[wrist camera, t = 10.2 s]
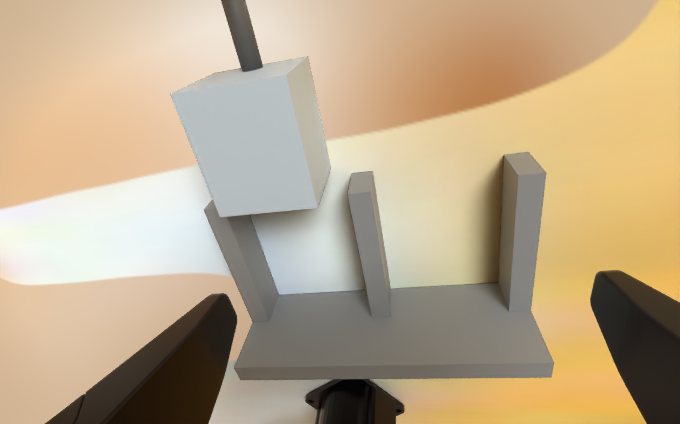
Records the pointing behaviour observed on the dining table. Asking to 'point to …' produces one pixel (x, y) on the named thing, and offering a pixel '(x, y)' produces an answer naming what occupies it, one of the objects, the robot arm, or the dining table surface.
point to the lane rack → (396, 303)
